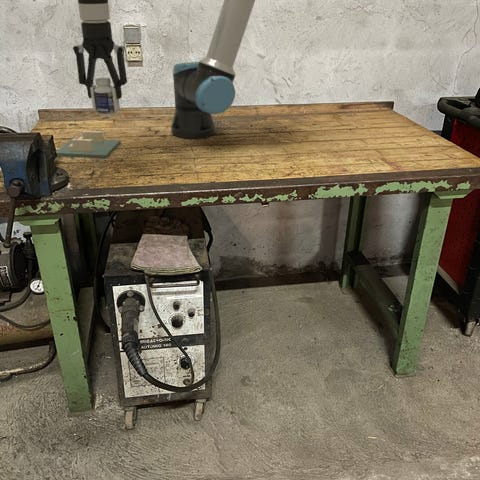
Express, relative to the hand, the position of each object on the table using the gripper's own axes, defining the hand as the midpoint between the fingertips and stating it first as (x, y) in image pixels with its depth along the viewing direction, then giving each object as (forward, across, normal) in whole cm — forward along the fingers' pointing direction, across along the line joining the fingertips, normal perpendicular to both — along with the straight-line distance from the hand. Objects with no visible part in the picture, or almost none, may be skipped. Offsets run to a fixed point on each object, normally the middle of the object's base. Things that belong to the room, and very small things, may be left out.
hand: (106, 109), depth 141 cm
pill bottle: (+1, 0, 0) cm, 1 cm away
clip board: (+15, +10, -7) cm, 19 cm away
